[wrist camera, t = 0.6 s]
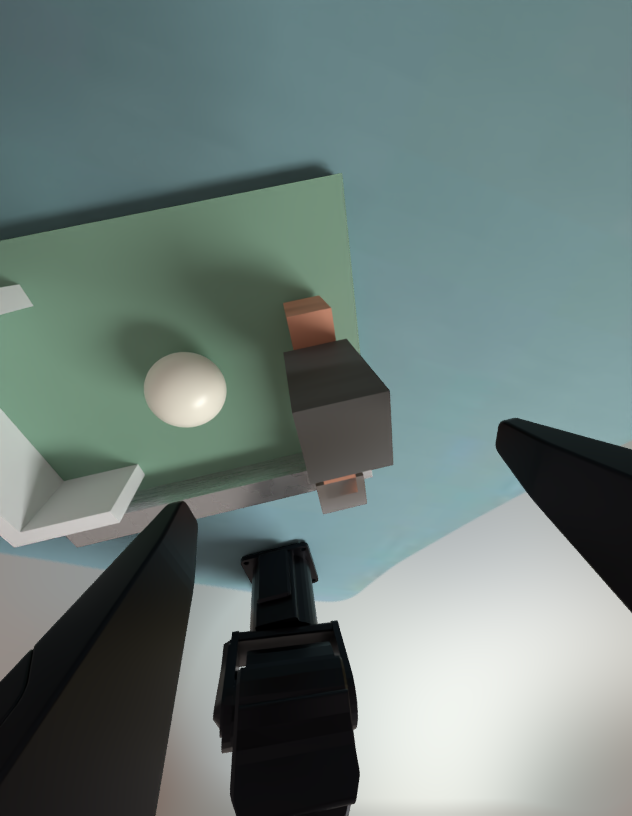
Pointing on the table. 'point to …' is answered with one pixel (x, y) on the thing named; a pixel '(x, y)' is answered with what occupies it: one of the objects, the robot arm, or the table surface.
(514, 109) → the table surface
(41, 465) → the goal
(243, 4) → the table surface
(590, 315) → the table surface
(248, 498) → the rail
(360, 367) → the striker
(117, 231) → the pitch
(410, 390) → the table surface
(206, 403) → the ball
